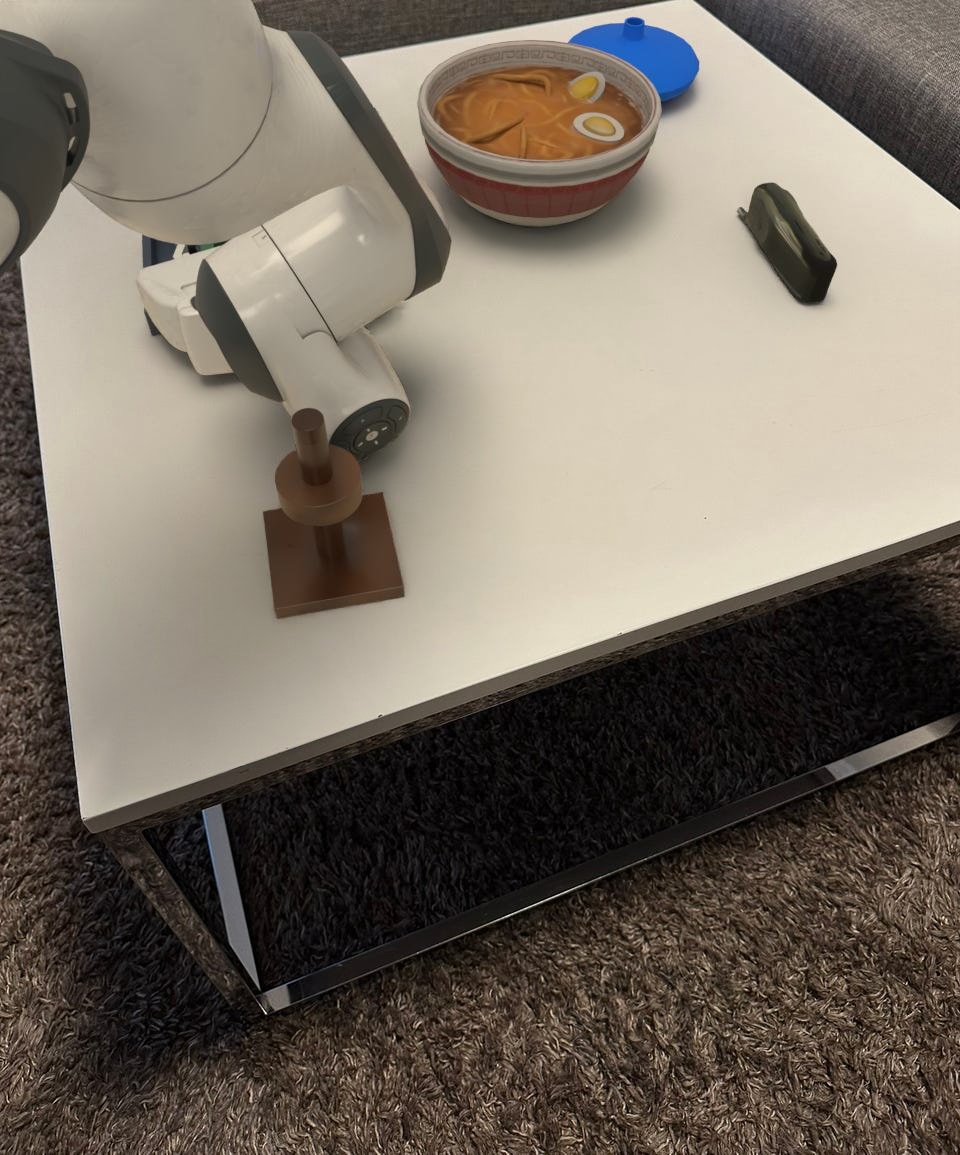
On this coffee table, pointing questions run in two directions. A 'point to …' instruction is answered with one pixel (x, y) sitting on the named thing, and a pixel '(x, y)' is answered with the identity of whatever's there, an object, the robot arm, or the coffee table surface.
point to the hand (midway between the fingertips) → (230, 225)
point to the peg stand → (327, 529)
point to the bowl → (538, 128)
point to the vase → (646, 53)
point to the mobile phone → (790, 242)
